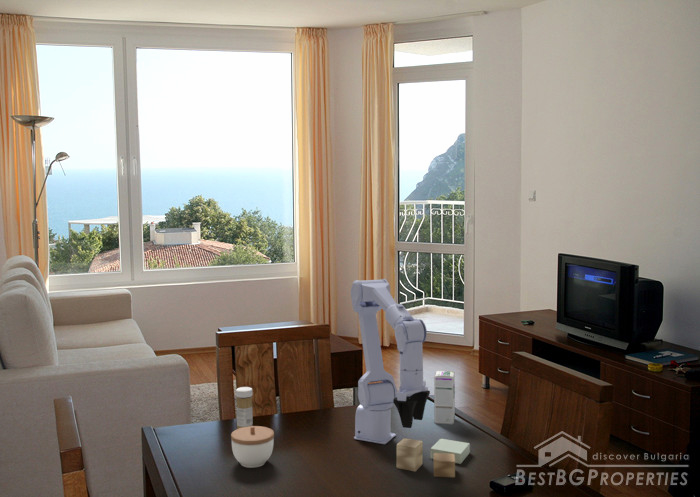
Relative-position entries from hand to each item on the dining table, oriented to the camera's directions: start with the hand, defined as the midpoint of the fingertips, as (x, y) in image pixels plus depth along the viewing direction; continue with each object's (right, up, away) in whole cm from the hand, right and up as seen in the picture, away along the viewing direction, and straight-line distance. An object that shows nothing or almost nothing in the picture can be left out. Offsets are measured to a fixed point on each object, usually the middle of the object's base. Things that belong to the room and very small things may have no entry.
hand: (412, 423), depth 171 cm
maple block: (-1, -11, +1) cm, 11 cm away
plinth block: (+10, -11, +8) cm, 17 cm away
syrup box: (+13, -8, +34) cm, 37 cm away
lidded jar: (-40, -11, +2) cm, 42 cm away
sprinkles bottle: (-45, -9, +21) cm, 51 cm away
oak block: (+7, -11, -3) cm, 14 cm away
